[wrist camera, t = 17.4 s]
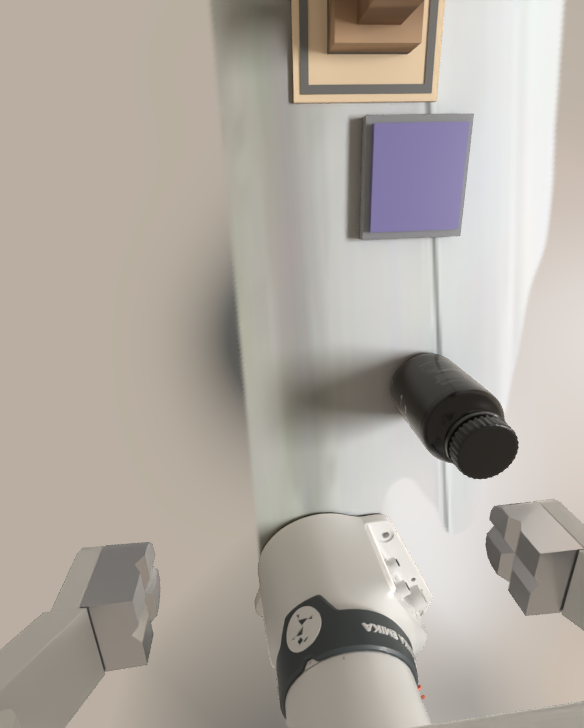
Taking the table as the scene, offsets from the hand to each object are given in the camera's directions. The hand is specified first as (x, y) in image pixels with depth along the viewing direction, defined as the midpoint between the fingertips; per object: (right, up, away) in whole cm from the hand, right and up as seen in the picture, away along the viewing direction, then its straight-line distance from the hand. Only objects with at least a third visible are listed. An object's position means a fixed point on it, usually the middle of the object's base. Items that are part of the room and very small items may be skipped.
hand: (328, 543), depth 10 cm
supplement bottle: (+12, +2, +32) cm, 34 cm away
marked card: (+5, +29, +21) cm, 36 cm away
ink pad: (+9, +19, +25) cm, 33 cm away
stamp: (+5, +29, +20) cm, 36 cm away
